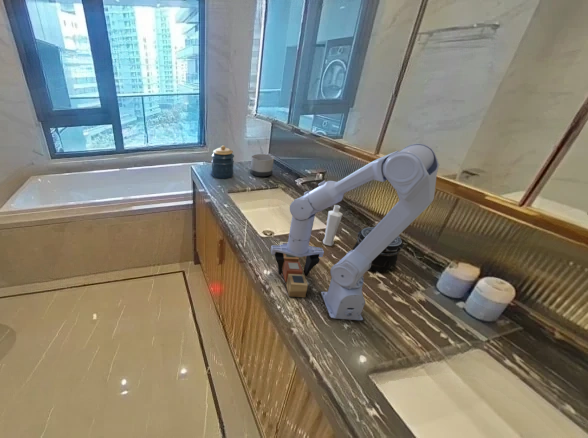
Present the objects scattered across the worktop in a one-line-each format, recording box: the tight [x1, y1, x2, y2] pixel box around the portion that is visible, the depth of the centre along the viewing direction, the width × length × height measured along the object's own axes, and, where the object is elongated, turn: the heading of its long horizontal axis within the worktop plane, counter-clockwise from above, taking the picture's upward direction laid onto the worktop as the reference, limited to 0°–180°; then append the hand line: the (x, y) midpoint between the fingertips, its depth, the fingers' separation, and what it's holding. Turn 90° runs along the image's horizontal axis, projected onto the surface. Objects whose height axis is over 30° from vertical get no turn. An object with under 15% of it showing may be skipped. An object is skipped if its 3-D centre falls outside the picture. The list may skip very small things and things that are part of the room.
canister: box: [211, 145, 235, 179], centre depth 165 cm, size 13×13×18 cm
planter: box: [249, 153, 275, 178], centre depth 167 cm, size 13×13×10 cm
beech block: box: [282, 254, 300, 271], centre depth 91 cm, size 4×4×5 cm
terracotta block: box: [282, 261, 304, 283], centre depth 86 cm, size 4×4×5 cm
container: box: [352, 226, 404, 272], centre depth 92 cm, size 13×13×10 cm
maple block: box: [285, 274, 309, 298], centre depth 81 cm, size 4×4×5 cm
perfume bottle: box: [322, 204, 344, 247], centre depth 100 cm, size 5×4×15 cm
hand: (292, 273), depth 86 cm, fingers open, 7 cm apart
